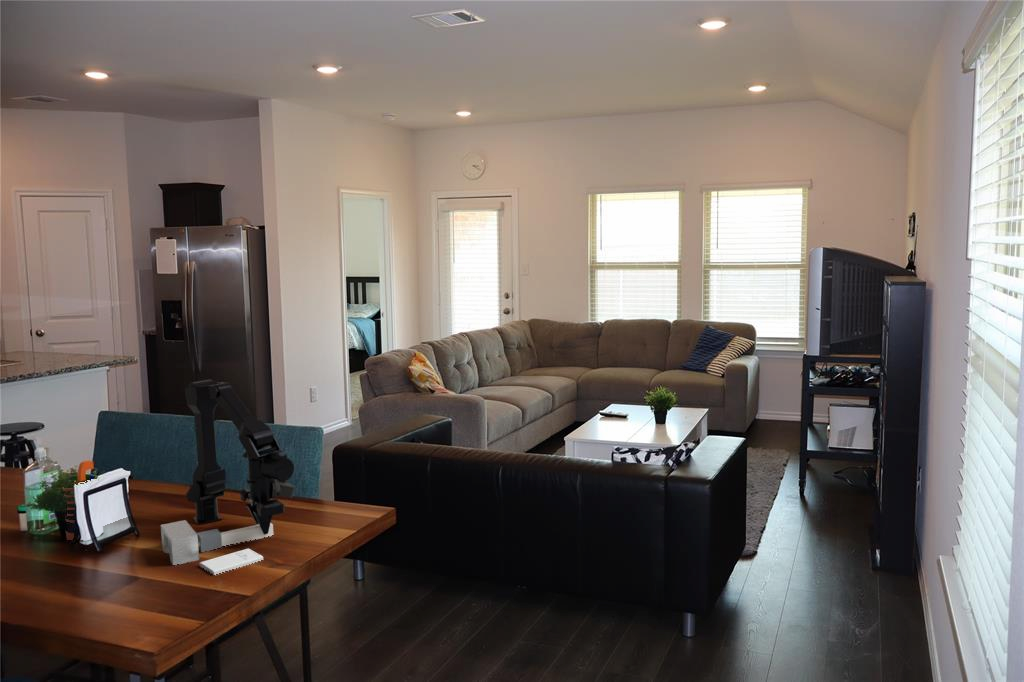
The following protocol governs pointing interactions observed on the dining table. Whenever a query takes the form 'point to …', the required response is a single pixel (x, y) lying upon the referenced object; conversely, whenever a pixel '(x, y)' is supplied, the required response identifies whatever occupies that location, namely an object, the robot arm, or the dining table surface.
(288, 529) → the dining table surface
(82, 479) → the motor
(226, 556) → the external hard drive
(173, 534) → the block
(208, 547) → the cable plug
